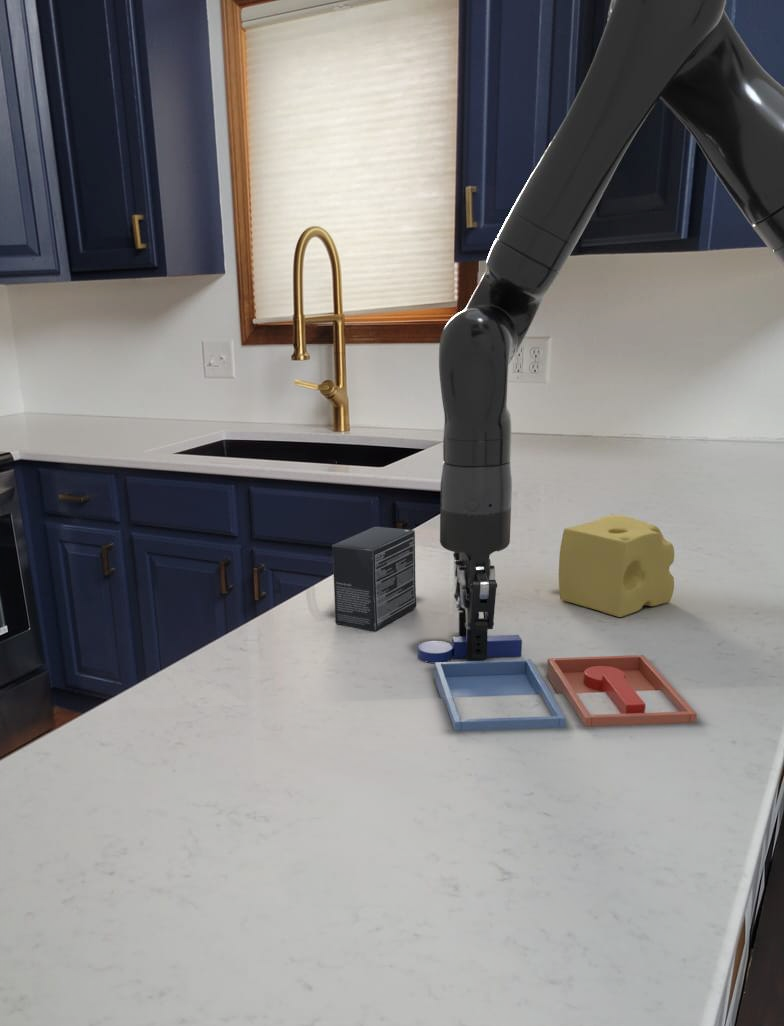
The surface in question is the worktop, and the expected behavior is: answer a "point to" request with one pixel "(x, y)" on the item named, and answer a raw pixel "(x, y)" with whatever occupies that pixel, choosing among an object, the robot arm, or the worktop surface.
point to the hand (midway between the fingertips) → (472, 650)
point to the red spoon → (614, 688)
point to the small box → (374, 577)
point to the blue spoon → (446, 651)
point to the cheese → (615, 565)
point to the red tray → (637, 674)
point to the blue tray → (495, 691)
